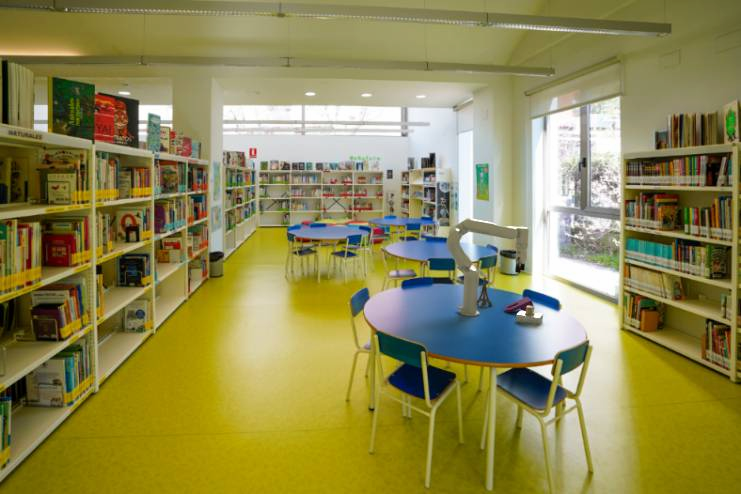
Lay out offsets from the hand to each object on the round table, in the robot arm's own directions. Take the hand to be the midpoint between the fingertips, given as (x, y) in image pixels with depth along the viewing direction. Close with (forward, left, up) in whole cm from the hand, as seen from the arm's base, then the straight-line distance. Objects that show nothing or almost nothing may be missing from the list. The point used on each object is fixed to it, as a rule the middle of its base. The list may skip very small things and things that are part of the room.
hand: (519, 271), depth 294 cm
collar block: (+10, -8, -30) cm, 33 cm away
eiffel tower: (-27, +11, -31) cm, 42 cm away
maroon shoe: (-2, +10, -31) cm, 33 cm away
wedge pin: (+10, -8, -30) cm, 33 cm away
